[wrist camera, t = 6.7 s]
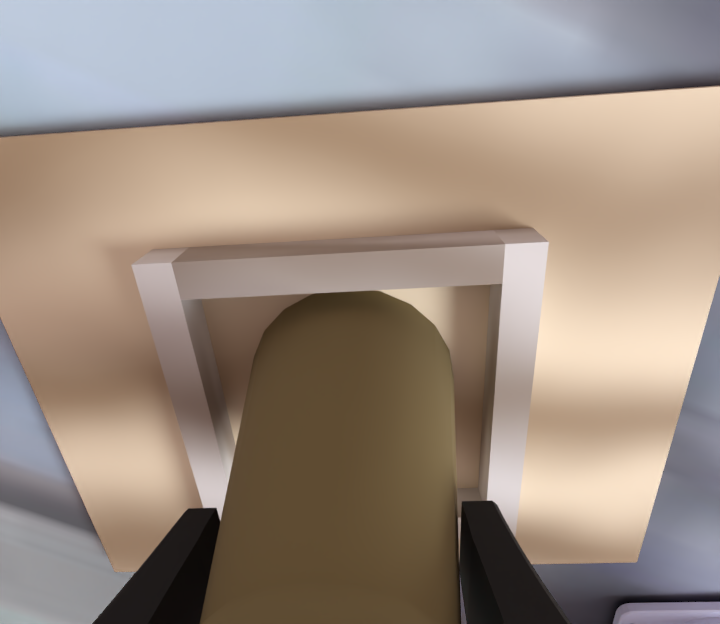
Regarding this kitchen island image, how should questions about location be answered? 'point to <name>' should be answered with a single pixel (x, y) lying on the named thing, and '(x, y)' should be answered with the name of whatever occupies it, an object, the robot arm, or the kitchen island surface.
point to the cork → (342, 473)
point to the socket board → (377, 273)
